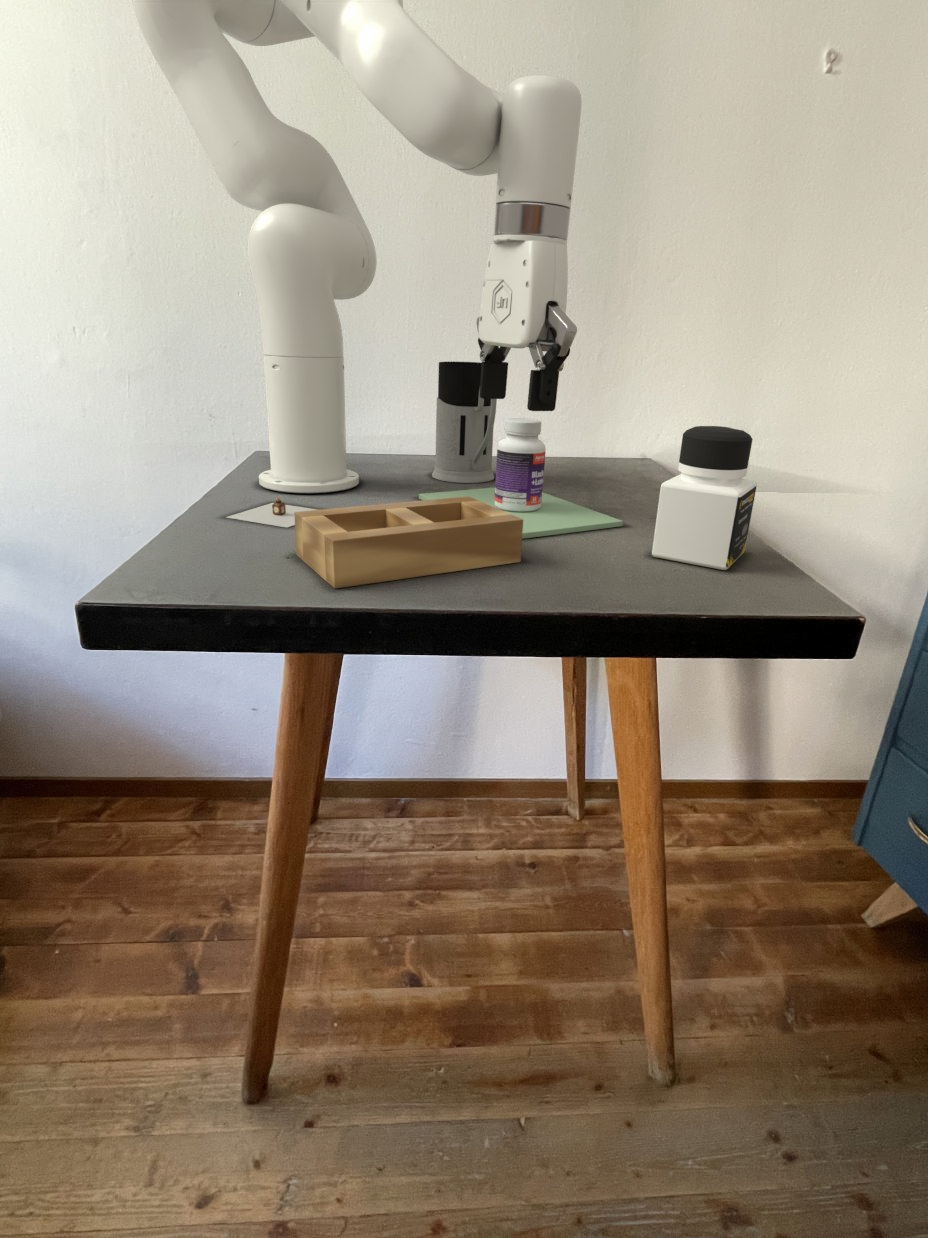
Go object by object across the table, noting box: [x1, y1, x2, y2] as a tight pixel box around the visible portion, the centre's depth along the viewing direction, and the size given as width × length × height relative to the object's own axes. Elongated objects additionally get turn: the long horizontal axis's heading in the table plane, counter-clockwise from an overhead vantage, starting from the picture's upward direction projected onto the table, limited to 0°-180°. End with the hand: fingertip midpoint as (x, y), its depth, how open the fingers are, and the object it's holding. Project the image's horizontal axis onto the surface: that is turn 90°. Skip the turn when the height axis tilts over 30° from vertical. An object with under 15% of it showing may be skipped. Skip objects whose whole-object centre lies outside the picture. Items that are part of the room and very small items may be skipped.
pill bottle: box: [494, 417, 547, 512], centre depth 83 cm, size 5×5×10 cm
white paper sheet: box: [225, 496, 318, 528], centre depth 80 cm, size 8×8×2 cm
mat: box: [418, 486, 624, 540], centre depth 85 cm, size 20×15×1 cm
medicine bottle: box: [651, 425, 758, 571], centre depth 69 cm, size 7×7×12 cm
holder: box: [294, 496, 523, 589], centre depth 66 cm, size 10×18×4 cm, turn 119°
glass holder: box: [431, 361, 498, 484], centre depth 98 cm, size 9×14×15 cm, turn 21°
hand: (515, 404), depth 81 cm, fingers open, 9 cm apart
